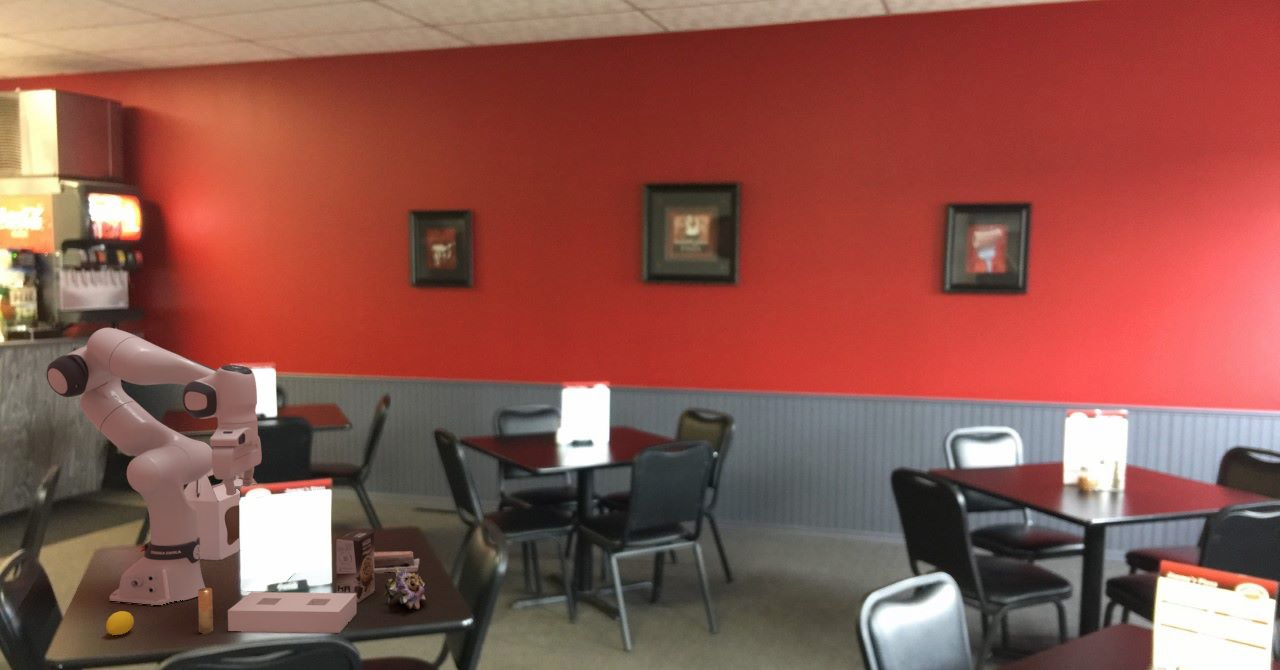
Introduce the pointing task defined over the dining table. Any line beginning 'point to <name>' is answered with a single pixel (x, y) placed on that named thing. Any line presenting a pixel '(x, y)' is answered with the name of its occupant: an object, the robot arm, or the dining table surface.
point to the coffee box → (355, 564)
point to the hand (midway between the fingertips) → (239, 490)
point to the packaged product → (395, 561)
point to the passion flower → (406, 588)
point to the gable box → (216, 516)
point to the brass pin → (205, 610)
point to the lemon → (119, 623)
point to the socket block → (292, 612)
